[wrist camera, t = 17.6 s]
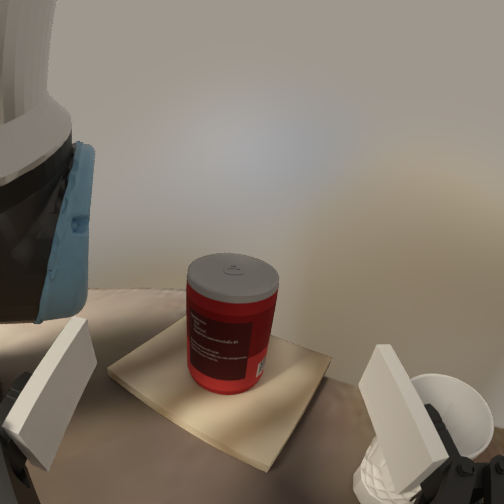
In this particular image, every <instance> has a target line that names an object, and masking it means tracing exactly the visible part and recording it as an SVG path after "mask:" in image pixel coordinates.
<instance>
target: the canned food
mask: <svg viewBox="0 0 504 504" xmlns="http://www.w3.org/2000/svg"><path fill="white" fill-rule="evenodd" d="M278 286H279V275H278V273H277V271H276V270H275V269H274V268H273V267H272V266H271V265H269V264H268V263H266V262H264V261H262V260H259V259H257V258H254V257H251V256H247V255H242V254H233V253H218V254H212V255H207V256H203V257H201V258H198V259H196V260H195V261H193V262H192V263H191V264H190V265H189V268H188V273H187V287H186V326H187V366H188V369H189V372H190V374H191V376H192V378H193V379H194V381H195V382H196V383H197V384H198V385H199V386H201V387H202V388H204V389H205V390H207V391H210V392H212V393H216V394H221V395H235V394H240V393H243V392H245V391H248V390H249V389H251V388H252V387H253V386H254V385H255V384H256V383H257V382H258V380H259V379H260V377H261V376H262V374H263V370H264V365H265V360H266V355H267V349H268V344H269V339H270V333H271V328H272V322H273V317H274V311H275V306H276V300H277V292H278Z"/></svg>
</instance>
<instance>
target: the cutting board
mask: <svg viewBox="0 0 504 504" xmlns="http://www.w3.org/2000/svg"><path fill="white" fill-rule="evenodd" d="M331 359H332V357H329V356H326V355H323V354H321V353H317V352H315V351H312V350H309V349H307V348H304V347H301V346H299V345H296V344H293V343H291V342H288V341H285V340H283V339H280V338H278V337H275V336H272V335H270V339H269V344H268V349H267V355H266V360H265V365H264V370H263V374H262V376H261V377H260V379H259V380H258V382H257V383H256V384H255V385H254V386H253V387H252V388H251V389H249V390H248V391H245V392H243V393H240V394H235V395H221V394H216V393H212V392H210V391H207V390H205V389H204V388H202V387H201V386H199V385H198V384H197V383H196V382H195V381H194V379H193V378H192V376H191V374H190V372H189V369H188V366H187V326H186V316H185V317H183V318H182V319H180V320H179V321H177V322H176V323H174V324H173V325H171V326H170V327H168V328H167V329H165V330H164V331H162V332H161V333H159V334H158V335H156V336H155V337H153V338H152V339H150V340H149V341H147V342H145V343H144V344H142V345H141V346H139V347H138V348H136V349H135V350H133V351H132V352H130V353H129V354H127V355H126V356H124V357H123V358H121V359H120V360H118V361H117V362H115V363H114V364H112V365H110V366H109V367H107V370H108V374H109V377H111V378H112V379H113V380H115V381H116V382H117V383H118V384H120V385H121V386H122V387H124V388H125V389H126V390H128V391H129V392H130V393H132V394H133V395H134V396H136V397H137V398H138V399H140V400H141V401H143V402H144V403H145V404H147V405H148V406H150V407H151V408H153V409H154V410H155V411H157V412H158V413H160V414H161V415H163V416H164V417H166V418H167V419H169V420H171V421H172V422H174V423H175V424H177V425H178V426H180V427H182V428H183V429H185V430H186V431H188V432H190V433H191V434H193V435H195V436H196V437H198V438H200V439H202V440H203V441H205V442H207V443H209V444H210V445H212V446H214V447H216V448H218V449H220V450H221V451H223V452H225V453H227V454H229V455H231V456H233V457H235V458H237V459H239V460H241V461H243V462H245V463H247V464H249V465H251V466H253V467H255V468H257V469H260V470H262V471H264V472H266V473H267V472H268V471H269V469H270V467H271V466H272V464H273V463H274V461H275V460H276V458H277V457H278V455H279V454H280V452H281V450H282V449H283V447H284V446H285V444H286V442H287V441H288V439H289V437H290V436H291V434H292V432H293V431H294V429H295V427H296V426H297V424H298V422H299V420H300V419H301V417H302V415H303V413H304V412H305V410H306V408H307V406H308V405H309V403H310V401H311V399H312V397H313V395H314V394H315V392H316V390H317V388H318V386H319V384H320V382H321V380H322V378H323V376H324V375H325V373H326V370H327V369H328V367H329V364H330V362H331Z"/></svg>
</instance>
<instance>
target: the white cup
mask: <svg viewBox="0 0 504 504" xmlns="http://www.w3.org/2000/svg"><path fill="white" fill-rule="evenodd" d="M410 380H411V382H412V384H413V386H414V388H415V390H416V391H417V393H418V395H419V397H420V399H421V401H422V403H423V404H429V403H430V404H431V405H432V406H433V407H434V408H435V409H436V410H437V411H438V412H439V414H440V416H441V418H442V422H444V424H445V426H446V429H447V430H448V432H449V433H450V435H451V437H452V439H453V441H454V443H455V445H456V447H457V450H458V452H459V453H460V455H461V456H464V457H468V458H470V459H471V460H472V461H473V460H474V459H475V458H476V457H477V456H479V455H480V454H481V453H482V452H483V451H484V450H485V449H486V448H487V446H488V445H489V443H490V442H491V439H492V437H493V433H494V420H493V415H492V412H491V410H490V408H489V406H488V404H487V403H486V401H485V400H484V398H483V397H482V396H481V395H480V394H479V393H478V392H477V391H476V390H475V389H474V388H472V387H471V386H469V385H468V384H466V383H465V382H463V381H461V380H459V379H457V378H454V377H451V376H448V375H443V374H433V373H432V374H422V375H419V376H416V377H413V378H411V379H410ZM420 490H421V486H420V485H419V486H417V487H416V488H415V489H414V490H413V491H410V492H407V493H403V494H399V495H396V492H395V489H394V485H393V482H392V479H391V476H390V473H389V470H388V467H387V464H386V461H385V458H384V455H383V452H382V449H381V446H380V444H379V441H378V438H377V435H376V436H375V437H374V439H373V440H372V442H371V444H370V446H369V448H368V449H367V451H366V453H365V457H364V458H363V460H362V461H361V463H360V464H359V466H358V468H357V470H356V471H355V473H354V475H353V491H354V493H355V495H356V497H357V499H358V500H359V502H360V504H414V502H415V500H416V498H415V499H414V500H413V501H412V502H409V500H410V499H411V497H413V496H414V495H415V494H417V493H418V492H419V491H420Z"/></svg>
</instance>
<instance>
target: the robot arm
mask: <svg viewBox="0 0 504 504" xmlns="http://www.w3.org/2000/svg"><path fill="white" fill-rule="evenodd" d="M55 6H56V0H0V324H17V323H34V324H41V323H42V322H43V321H46V320H53V319H60V318H67V317H72V316H73V317H72V318H71V319H70V321H69V322H68V324H67V325H66V326H65V328H64V329H63V330H62V332H61V333H60V335H59V336H58V337H57V339H56V340H55V342H54V343H53V345H52V346H51V347H50V349H49V350H48V352H47V353H46V355H45V356H44V358H43V359H42V361H41V362H40V364H39V365H38V367H37V368H36V370H35V371H34V373H33V374H31V373H28V372H24V373H23V374H22V375H20V376H19V377H18V378H17V379H16V380H15V382H14V383H13V385H12V386H11V389H9V391H8V392H7V394H6V396H5V397H4V399H3V400H2V402H1V398H2V389H1V383H0V504H40V501H39V499H38V496H37V494H36V491H35V489H34V486H33V483H32V481H31V478H30V475H29V472H28V469H27V467H26V465H25V462H26V460H27V459H28V460H29V461H30V463H31V464H32V465H33V466H35V467H38V468H40V469H42V470H44V471H47V472H49V470H50V468H51V465H52V463H53V460H54V458H55V455H56V453H57V450H58V448H59V445H60V443H61V441H62V438H63V436H64V433H65V431H66V429H67V427H68V424H69V422H70V420H71V417H72V415H73V413H74V411H75V409H76V406H77V404H78V402H79V400H80V398H81V396H82V394H83V391H84V389H85V387H86V385H87V383H88V381H89V379H90V377H91V375H92V373H93V371H94V369H95V367H96V365H97V360H96V357H95V353H94V348H93V344H92V340H91V336H90V331H89V326H88V322H87V319H85V318H80V317H75V316H74V315H76V314H78V313H79V312H80V311H81V310H82V309H83V307H84V305H85V303H86V300H87V295H88V245H89V244H88V243H89V218H90V217H89V216H90V205H91V194H92V182H93V171H94V161H95V160H94V159H95V150H94V148H93V147H92V146H91V145H89V144H83V142H80V141H77V142H76V143H74V144H72V134H71V133H72V124H71V117H70V114H69V112H68V111H67V110H66V109H65V108H64V107H63V106H61V105H60V104H59V103H58V102H57V101H55V100H54V99H53V98H52V97H51V96H50V95H49V94H48V91H47V74H48V60H49V48H50V39H51V31H52V24H53V17H54V11H55ZM358 386H359V389H360V391H361V394H362V397H363V399H364V402H365V405H366V407H367V410H368V413H369V415H370V418H371V421H372V424H373V427H374V429H375V432H376V435H377V438H378V441H379V444H380V446H381V449H382V452H383V455H384V458H385V461H386V464H387V467H388V470H389V473H390V476H391V479H392V482H393V485H394V489H395V492H396V495H399V494H403V493H407V492H410V491H413V490H414V489H415V488H416V487H417V486H419V485H420V486H421V490H420V491H419V492H418V493H417V494H415V495H414V496H413V497H411V499H410V500H409V502H412V501H413V500H414V499H415V498H416V500H415V502H414V504H504V456H501V455H498V456H495V457H494V458H493V459H492V460H491V461H490V462H488V463H474V462H473V461H472V460H471V459H470V458H468V457H464V456H461V455H460V453H459V452H458V450H457V447H456V445H455V443H454V441H453V439H452V437H451V435H450V433H449V432H448V430H447V429H446V426H445V424H444V422H442V418H441V416H440V414H439V412H438V411H437V410H436V409H435V408H434V407H433V406H432V405H431V404H430V403H429V404H423V403H422V401H421V399H420V397H419V395H418V393H417V391H416V390H415V388H414V386H413V384H412V382H411V380H410V378H409V377H408V375H407V373H406V371H405V369H404V368H403V366H402V364H401V362H400V360H399V359H398V357H397V355H396V353H395V352H394V350H393V348H392V346H391V345H390V344H377V345H376V347H375V349H374V352H373V354H372V356H371V359H370V361H369V363H368V365H367V367H366V370H365V372H364V374H363V376H362V379H361V380H360V382H359V384H358ZM483 497H484V499H483V503H482V498H483Z"/></svg>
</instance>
